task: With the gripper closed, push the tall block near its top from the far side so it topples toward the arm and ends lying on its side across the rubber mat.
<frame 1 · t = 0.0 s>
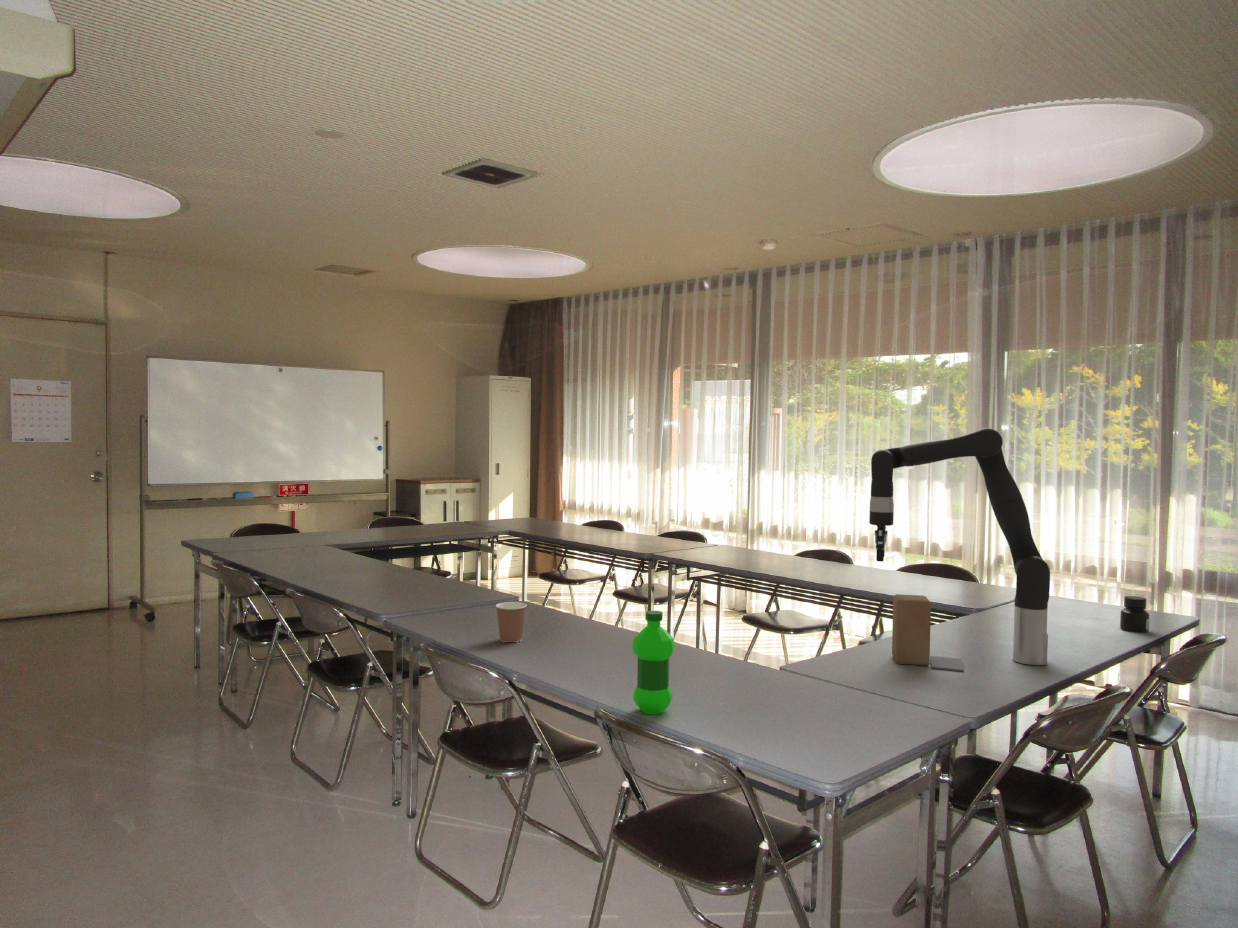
hand: (880, 559, 271), 29 cm above the table, tool pointing down, fingers open, 8 cm apart
plastic bottle: (652, 711, 207), on the table
ink bottle: (1134, 630, 300), on the table
block: (910, 661, 256), on the table
mat: (946, 664, 252), on the table
coffee cup: (511, 641, 275), on the table
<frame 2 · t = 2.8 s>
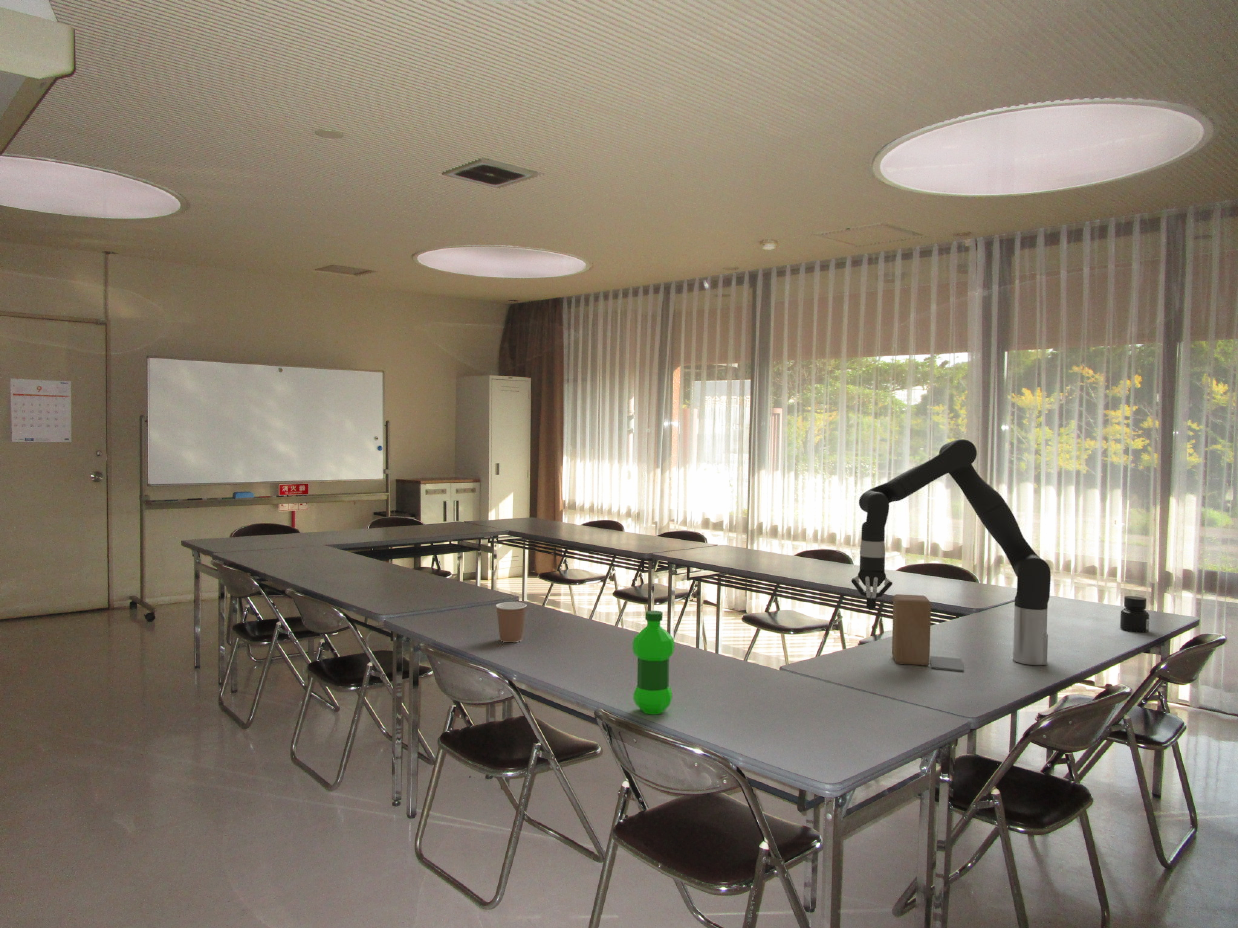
hand: (871, 609, 259), 15 cm above the table, tool pointing down, fingers closed
nothing on the table moved.
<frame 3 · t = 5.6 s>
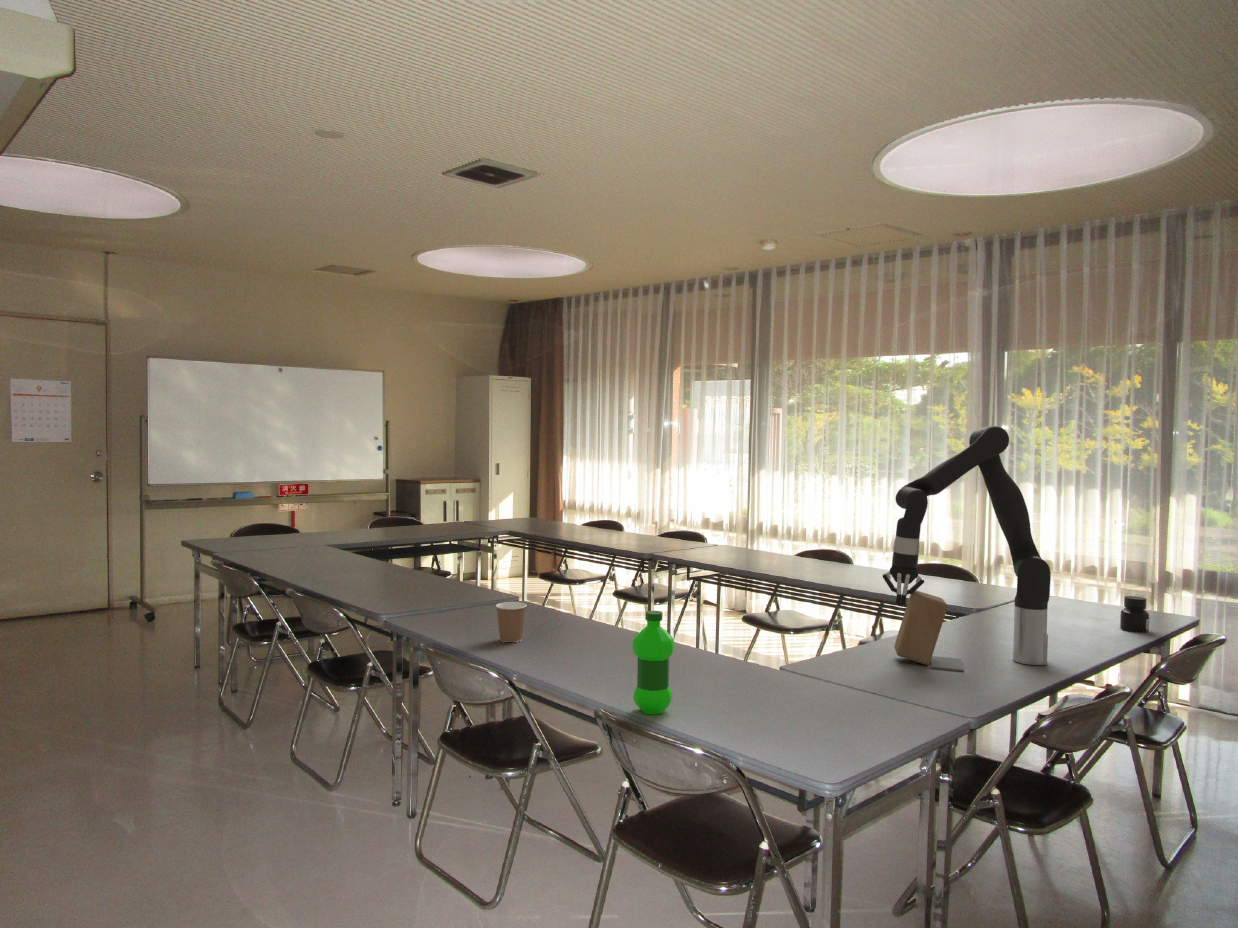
hand: (900, 605, 257), 17 cm above the table, tool pointing down, fingers closed
block: (910, 657, 256), point 1 cm above the table, touching gripper, hand
everything else where it was.
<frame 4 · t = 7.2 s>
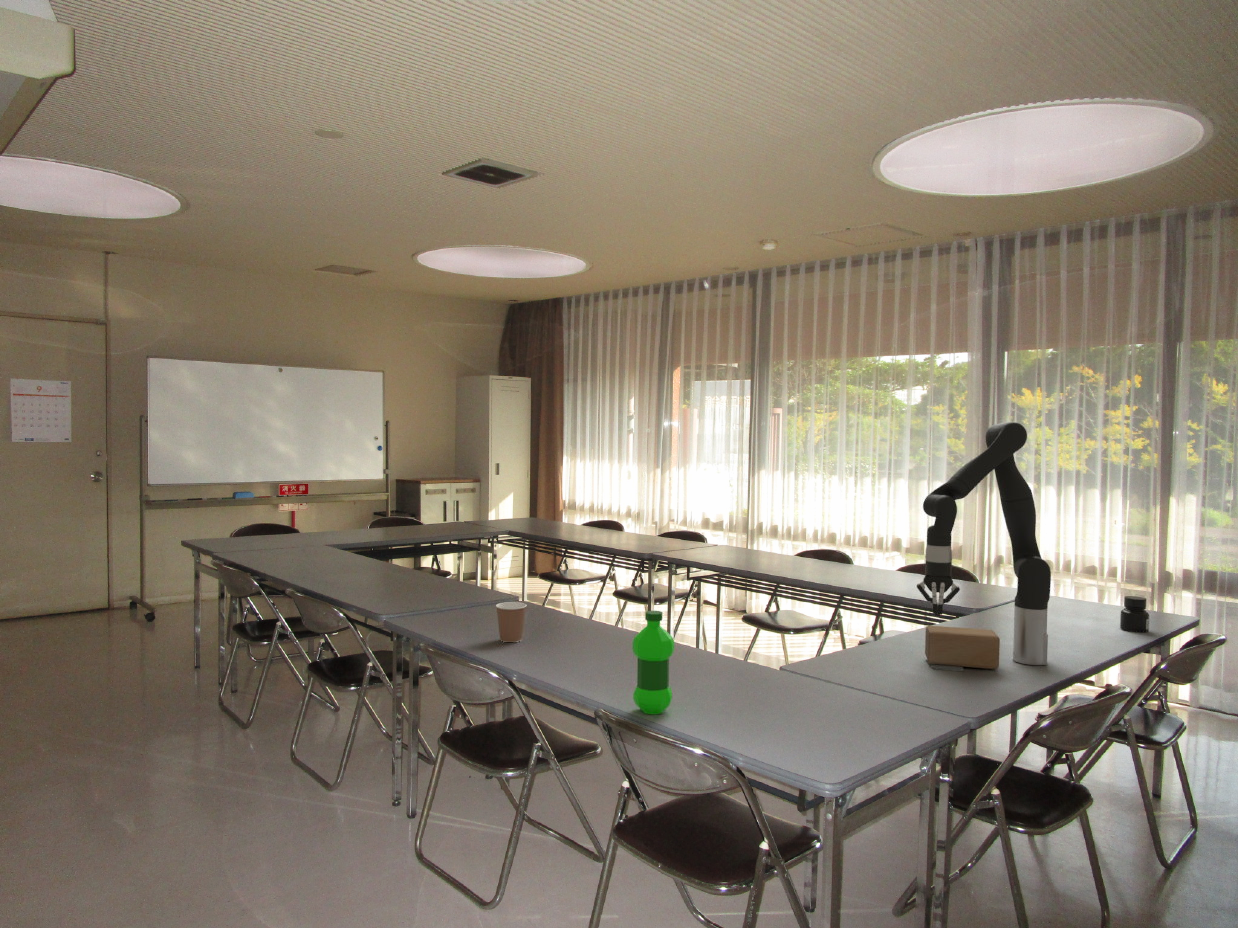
hand: (937, 615, 253), 15 cm above the table, tool pointing down, fingers closed
block: (926, 644, 254), point 6 cm above the table, touching mat
everything else where it was.
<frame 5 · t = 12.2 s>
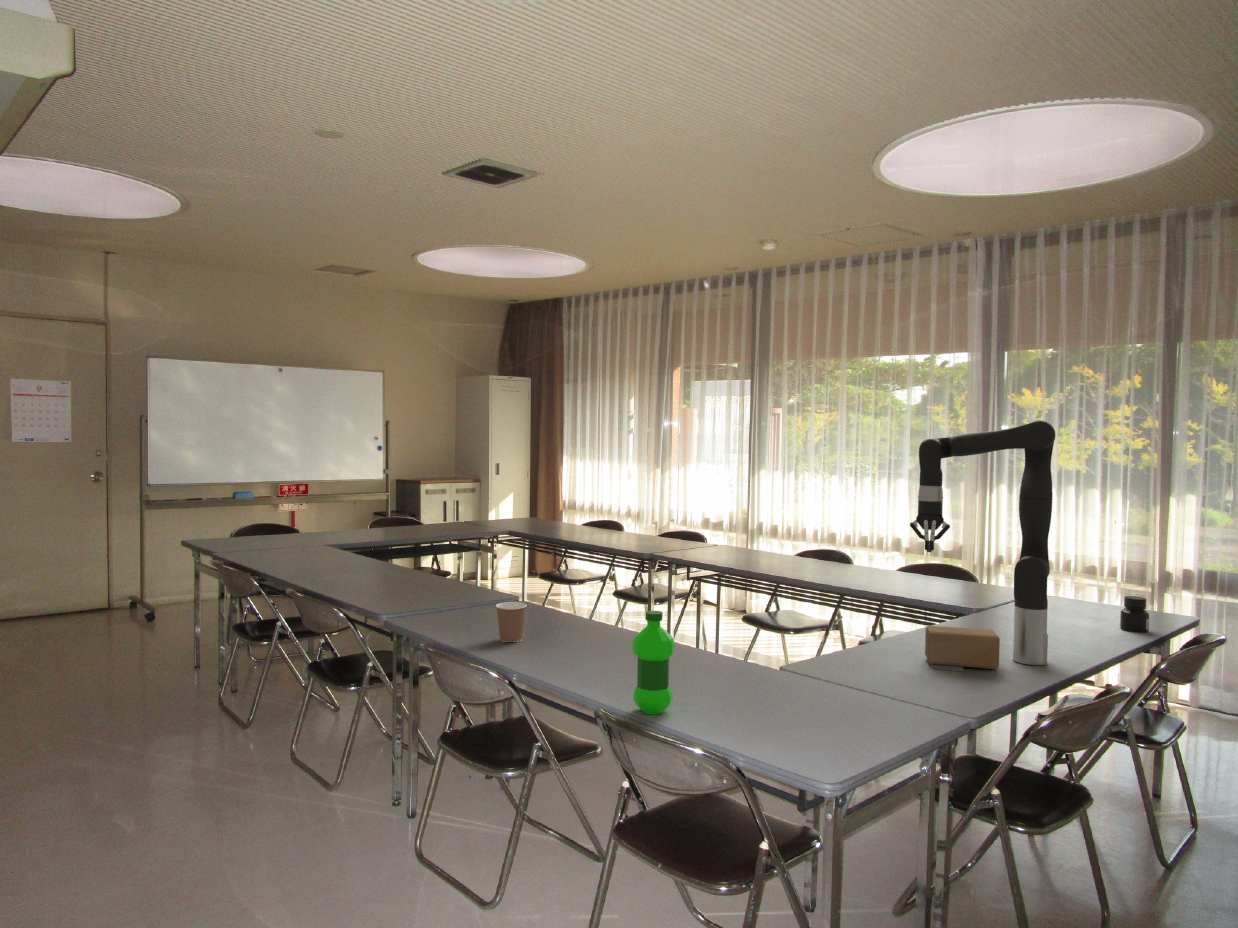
hand: (929, 551, 270), 32 cm above the table, tool pointing down, fingers closed
nothing on the table moved.
at the end: block tilted 90°; block touching mat; the gripper is holding nothing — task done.
